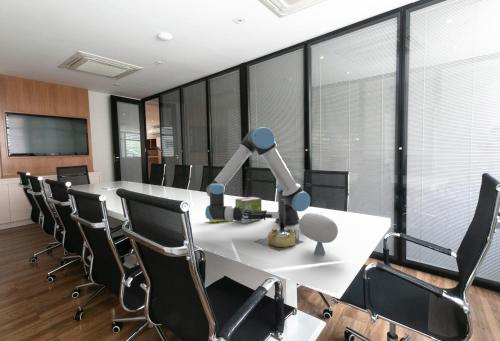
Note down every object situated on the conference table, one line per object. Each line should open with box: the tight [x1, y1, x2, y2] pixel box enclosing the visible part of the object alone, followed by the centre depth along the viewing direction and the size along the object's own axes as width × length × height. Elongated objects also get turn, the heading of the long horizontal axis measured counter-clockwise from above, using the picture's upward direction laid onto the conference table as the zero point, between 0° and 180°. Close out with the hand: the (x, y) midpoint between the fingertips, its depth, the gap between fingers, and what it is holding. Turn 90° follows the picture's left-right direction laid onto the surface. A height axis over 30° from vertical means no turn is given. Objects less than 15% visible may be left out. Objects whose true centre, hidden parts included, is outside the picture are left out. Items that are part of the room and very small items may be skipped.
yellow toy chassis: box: [208, 219, 231, 223], centre depth 168 cm, size 16×6×8 cm, turn 109°
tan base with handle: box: [267, 199, 296, 248], centre depth 124 cm, size 16×13×19 cm
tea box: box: [234, 196, 262, 224], centre depth 168 cm, size 15×10×15 cm, turn 131°
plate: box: [253, 229, 304, 252], centre depth 124 cm, size 17×18×6 cm
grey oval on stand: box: [298, 212, 339, 256], centre depth 111 cm, size 15×20×18 cm
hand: (278, 215), depth 130 cm, fingers open, 2 cm apart
